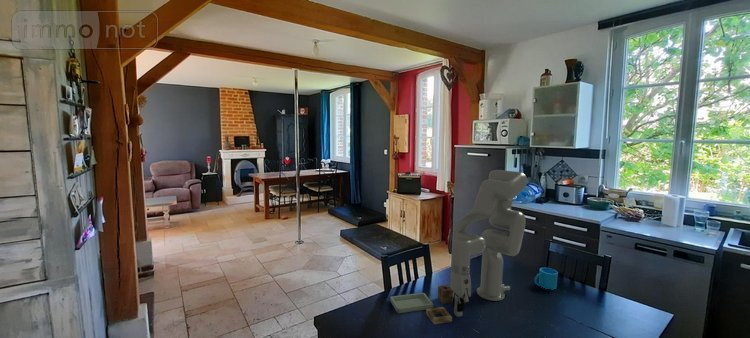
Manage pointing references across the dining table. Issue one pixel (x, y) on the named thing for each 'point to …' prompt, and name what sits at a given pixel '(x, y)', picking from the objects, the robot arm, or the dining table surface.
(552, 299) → the dining table surface
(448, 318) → the square wooden frame
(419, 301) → the tray
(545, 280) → the mug
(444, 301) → the walnut block
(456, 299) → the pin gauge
